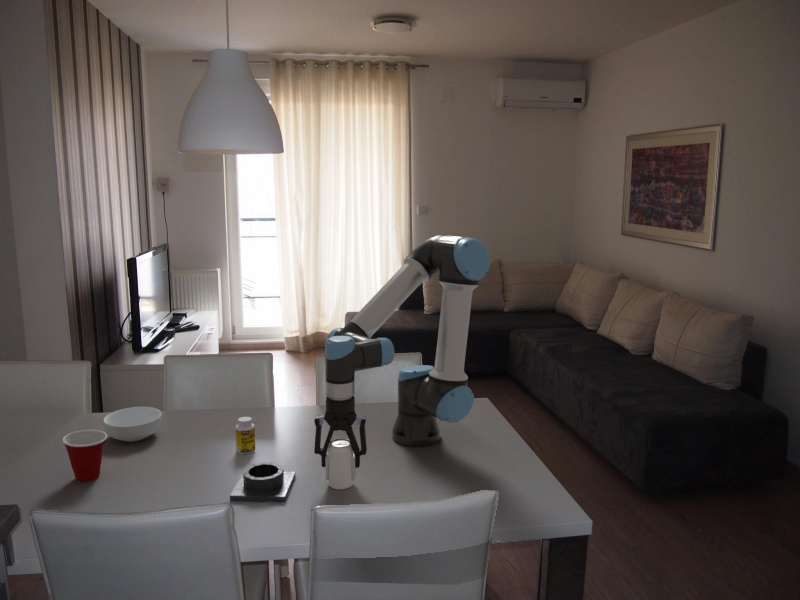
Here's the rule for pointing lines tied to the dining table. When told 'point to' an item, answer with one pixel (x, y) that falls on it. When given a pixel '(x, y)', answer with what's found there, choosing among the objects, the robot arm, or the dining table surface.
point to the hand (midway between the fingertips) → (340, 477)
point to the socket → (263, 484)
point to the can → (340, 464)
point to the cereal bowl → (132, 423)
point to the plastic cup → (85, 453)
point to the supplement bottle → (245, 436)
